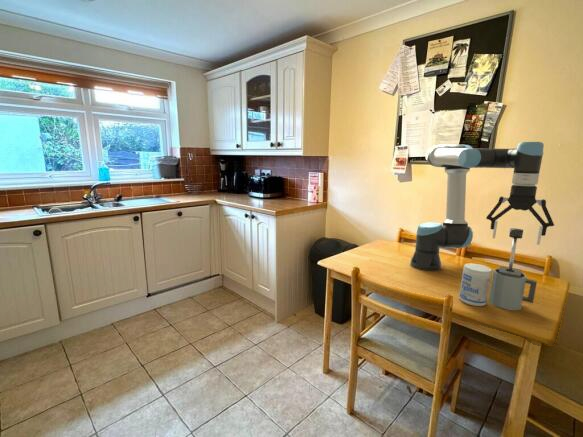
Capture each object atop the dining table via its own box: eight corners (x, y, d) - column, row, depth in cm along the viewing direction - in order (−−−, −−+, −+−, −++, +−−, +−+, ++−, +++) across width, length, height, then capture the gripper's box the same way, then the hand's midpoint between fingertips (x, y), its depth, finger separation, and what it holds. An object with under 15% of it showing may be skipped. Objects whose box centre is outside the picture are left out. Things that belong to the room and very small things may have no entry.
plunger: (496, 280, 116) (504, 229, 112) (497, 274, 122) (505, 226, 118) (520, 285, 111) (529, 232, 107) (520, 279, 117) (529, 229, 113)
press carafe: (487, 304, 117) (493, 271, 115) (490, 295, 126) (494, 264, 123) (531, 315, 109) (538, 280, 107) (531, 305, 117) (537, 271, 115)
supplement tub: (456, 301, 120) (461, 267, 117) (461, 294, 127) (465, 261, 124) (484, 309, 113) (490, 273, 111) (488, 301, 121) (493, 266, 118)
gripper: (483, 183, 114) (476, 237, 118) (571, 187, 99) (559, 248, 103) (485, 182, 119) (478, 233, 124) (568, 186, 105) (557, 244, 109)
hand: (515, 240), depth 113 cm, fingers open, 13 cm apart
